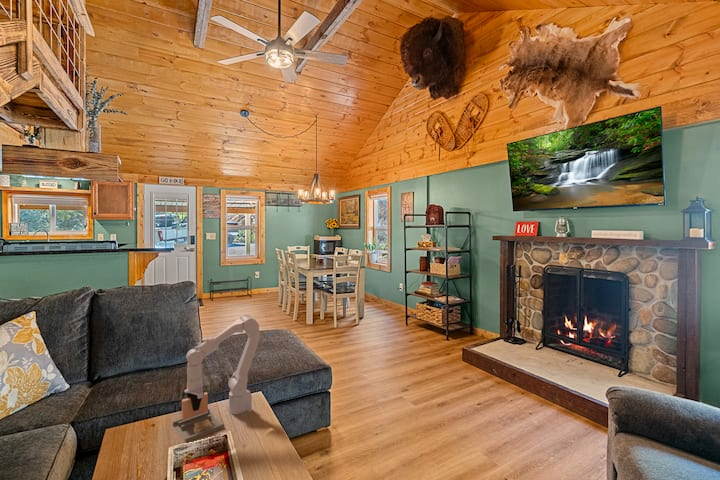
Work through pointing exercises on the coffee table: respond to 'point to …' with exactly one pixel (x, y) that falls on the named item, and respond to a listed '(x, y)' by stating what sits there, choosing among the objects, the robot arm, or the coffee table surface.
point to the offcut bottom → (203, 429)
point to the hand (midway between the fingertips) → (195, 409)
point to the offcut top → (202, 425)
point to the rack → (188, 426)
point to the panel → (188, 410)
